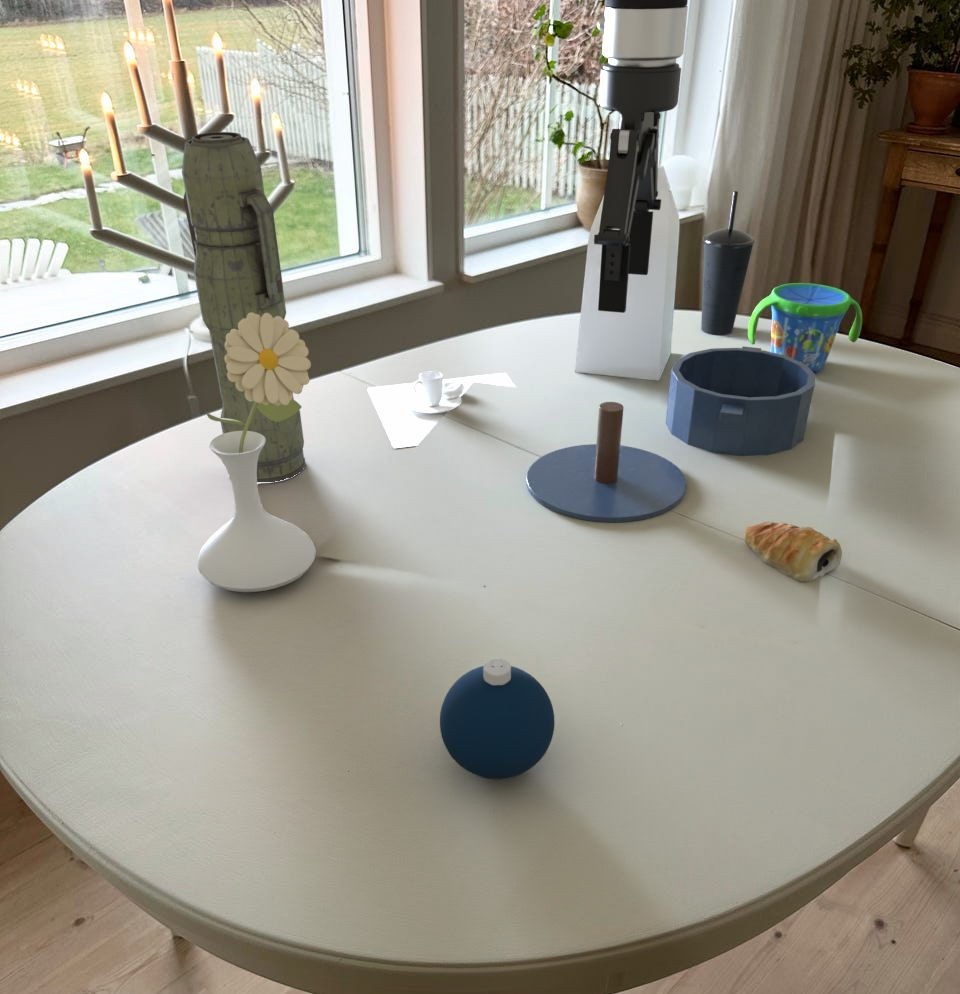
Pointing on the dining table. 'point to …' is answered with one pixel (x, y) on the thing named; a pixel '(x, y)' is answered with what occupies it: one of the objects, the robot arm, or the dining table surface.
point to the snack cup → (806, 321)
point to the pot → (739, 401)
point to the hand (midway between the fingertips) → (624, 291)
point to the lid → (606, 477)
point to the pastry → (794, 549)
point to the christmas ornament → (497, 721)
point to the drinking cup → (724, 275)
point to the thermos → (237, 276)
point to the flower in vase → (252, 531)
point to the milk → (633, 304)
